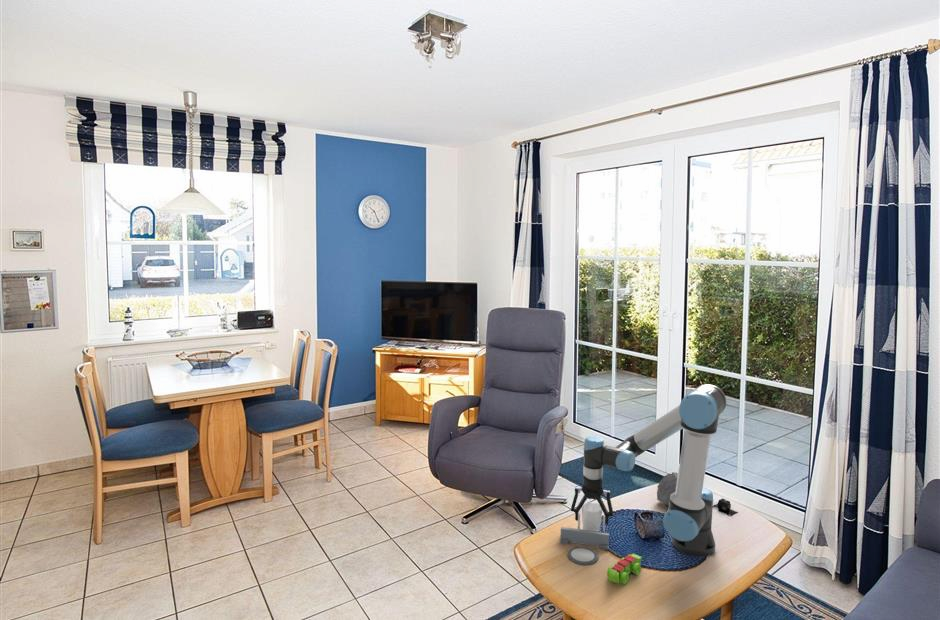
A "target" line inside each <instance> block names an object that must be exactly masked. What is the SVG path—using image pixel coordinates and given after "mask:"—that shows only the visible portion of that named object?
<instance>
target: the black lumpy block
mask: <svg viewBox="0 0 940 620" xmlns="http://www.w3.org/2000/svg"><path fill="white" fill-rule="evenodd" d="M731 508H732V504H731V501H730V500H727V499H726V498H723V497H722V498H720V499H718V501H717V503H716V504H713V510H717V511H718V512H721V513H722V514H725V515H727V516H729V517H732V516H734V515H736V514H738V513H739V511H736V510H734V509H731Z"/></svg>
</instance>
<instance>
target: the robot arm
mask: <svg viewBox="0 0 940 620" xmlns="http://www.w3.org/2000/svg"><path fill="white" fill-rule="evenodd" d="M726 406H727V397H726V394H725V393H724V392H723V390H722V389H721V388H720V387H719V386H717V385H713V384H709V383H708V384H707V383H705V384H701V385H699V386H697V387H695V388H694V390H692V391H690V392H688V393H687V394H686V395H684V397H683V398H682V399H681V402H680V404H679V405H678V406H676V407H675V408H673V409H671V410H669V411H668V412H666V413H665V414H664V415H662V416H661V417H659V418H657V419H655V420H654V421H653V422H651V423H650V424H648V425H646V426H645V427H644V428H642V429H640V430H639V431H637V432H636V433H635V432H634V433H635V434H632V435H630V436H629V437H626V439H624V441H622V442H621V443H619V444H618V445H617V446H615V447H614V446H610V445H607V444H605V442H604V439H603V438H602V437H600V436H595V435H590V436H587V437H586V438H584V442H583V466H582V470H583V471H582V474H583V476H582V486H581V487H580V486H577V485H575V486H574V496H573V500H572V502H571V507H570V511H571V512H573V513H574V515H575V517H574V519H575V521H577V529H581V515H582V506H583V504H584V503H586V502H587V499H588V500H593V501H597V504H599V505H600V507H601V509H602V513H603V514H602V532H604V533H606V525H608V524H609V517H614V510H613V509H614V508H613V505H612V501H611V500H612V499H611V490H610V489H608V490H606V489H604V488H603V484H604V483H603V480H604V479H603V476H604V475H603V474H604V466H607V467H609V468H613V469H616V470H619V471H625V472H631V471H632V470H633V468H634V467H635V465H636V458H637V457H638V456H640V455H641V454H643V453H644V452H646V451H648V450H650V449H651V448H653V447H655V446H656V445H658V444H660V443H661V442H662V441H663V442H664V441H665V440H667V439H668V438H670V437H671V436H673V435H674V434H676V433H677V432H680V431H681V430H683V437H682V445H681V451H680V458H679V462H678V463H679V465H678V471H677V473H678V477H677V484H676V491H675V492H674V493H672V494H671V495H670V500H669V506H668V508H667V511H666V512H665V513H664V516H663V519H662V520H663V521H662V523H663V526H664V529H665V530H666V532H667V534H668V535H670V536H671V538H672V541H671V544H672V545H673V546H674V548H675V549H676V550H677V551H679V552H681V553H683V554H685V555H689V556H692V557H698V558H701V557H702V558H703V557H709V556H712V555H713V554H715V552H716V542H715V541H716V540H715V537H714V534H713V531H712V523H713V510H714V508H713V506H714V495H713V492H712V490H710V489H708V487H704V482H705V475H706V469H707V463H708V462H707V461H708V455H709V449H710V442H711V438H712V436H714V435H715V434H717V429H718V424H719V419H720V418H719V417H720V416H721V414H722V413H723V412H724V411H725V409H726ZM581 492H582V493H583V496H582V498H581V499H580V502H579V503H578V504H577V501H578V496H579V494H580V493H581ZM603 494H604V496H605V498H606V502H607V506H606V505H605V503H604V501H603V499H602V495H603ZM576 505H577V506H576ZM607 507H608V509H607Z"/></svg>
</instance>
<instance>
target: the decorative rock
mask: <svg viewBox="0 0 940 620" xmlns="http://www.w3.org/2000/svg"><path fill="white" fill-rule="evenodd" d="M677 477H678V472H674V471H673V472H671V473H667V474H666V475H663V477H662V479H661V480H660V481H659V483H658V485H657V487H656V488H657V491H656V499H657V501H658V502H659V503H662V504H665V505H666V506H668V507H669V500H670V495H671V494H672V493H674V492H675V491H676V484H677Z"/></svg>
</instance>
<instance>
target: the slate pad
mask: <svg viewBox="0 0 940 620" xmlns="http://www.w3.org/2000/svg"><path fill="white" fill-rule="evenodd" d="M567 558H568V560H570V561H571V562H573V563H575V564H578V565H581V566H589V565H594V564H596V562H598V560H599V556H598V553H597V552H596V551H595V550H594V549H592V548H589V547H587V546H575V547H572V548H570V549H569V550H568V551H567Z"/></svg>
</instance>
